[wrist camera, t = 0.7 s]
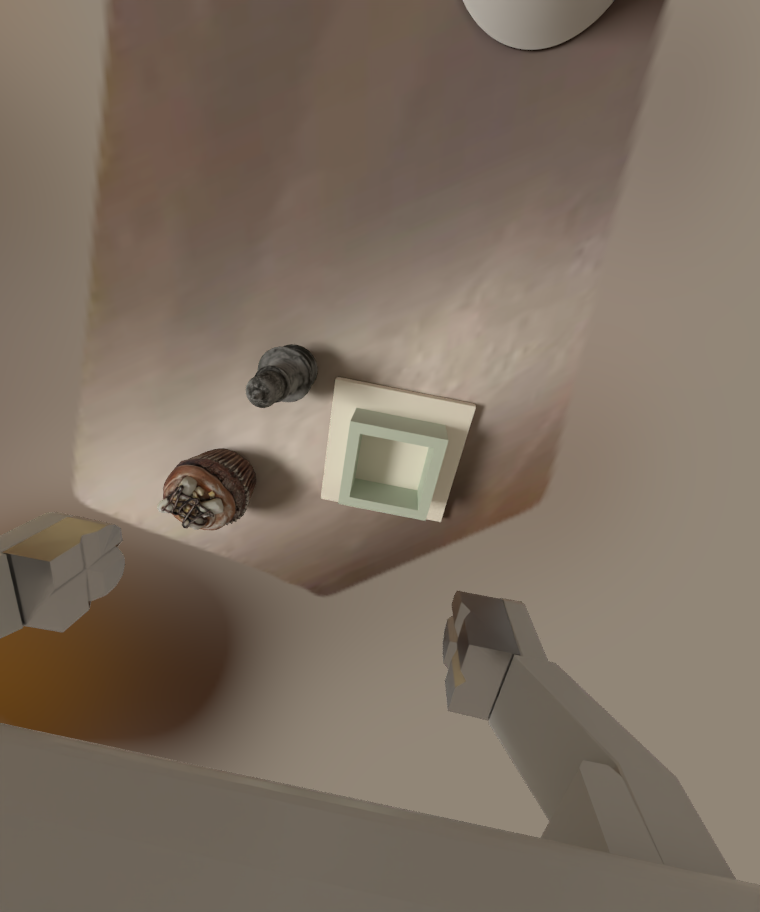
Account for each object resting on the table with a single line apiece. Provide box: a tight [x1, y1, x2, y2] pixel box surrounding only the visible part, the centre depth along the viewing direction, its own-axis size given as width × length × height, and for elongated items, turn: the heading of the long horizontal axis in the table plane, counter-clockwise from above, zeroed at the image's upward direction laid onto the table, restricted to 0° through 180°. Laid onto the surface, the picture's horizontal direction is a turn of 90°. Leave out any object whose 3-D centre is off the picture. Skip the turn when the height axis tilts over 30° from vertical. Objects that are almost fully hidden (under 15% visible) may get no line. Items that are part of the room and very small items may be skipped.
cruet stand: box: [321, 377, 476, 522], centre depth 43 cm, size 16×16×6 cm
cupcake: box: [157, 449, 256, 530], centre depth 44 cm, size 10×10×10 cm
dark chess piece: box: [246, 345, 317, 408], centre depth 36 cm, size 6×6×12 cm
